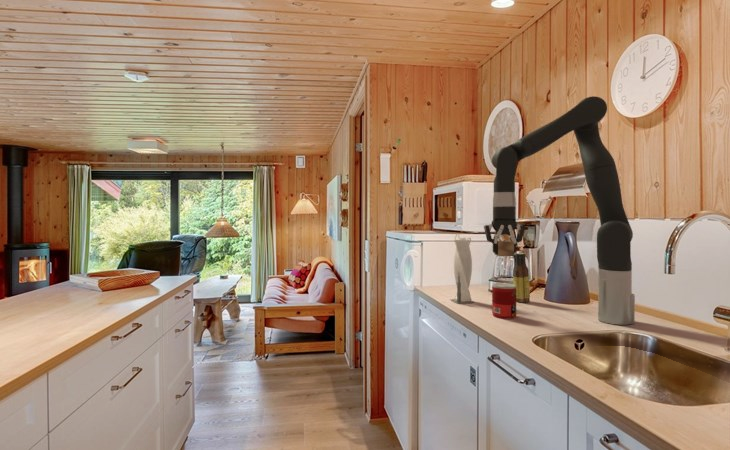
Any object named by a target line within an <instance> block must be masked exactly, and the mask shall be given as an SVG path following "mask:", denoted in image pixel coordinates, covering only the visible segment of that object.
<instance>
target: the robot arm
mask: <svg viewBox="0 0 730 450" xmlns="http://www.w3.org/2000/svg"><path fill="white" fill-rule="evenodd" d="M607 111H608V104H607V103H606V101H605V100H604V99H603V98H601V97H600V96H595V95H594V96H588V97H586V98H583V99H581V101H580V102H578V103H577V104H576V105H575V106H574V107H572V108H571V109H570V110H568V111H567V112H565V113H563V114H561V115H560V116H559V117H557V118H556V119H554V120H552V121H550V122H548V123H547V124H544V125H543V126H540V127H539V128H537V129H535V130H533V131H531V132H530V133H527V134H526V135H524V136H522V137H520V138H519V139H518V140H516V141H514V142H513V143H512V144H509V145H507V146H505V147H501V148H499V149H498V150H497V151H495V152H494V154H493V155H492V158H491V163H492V165H493V167H495V177H494V179H493V196H492V197H493V198H492V222H491V224H485V225H483V230H484V234H485V238H486V240H487V242H488V243H491V244H492V252H493V253H494V255H495V254H496V255H495V256H497V255H498V244H497V242H498V241H500V240H499V239H500V238H501V236H503V235H507V237H508V238H509V241H513V242H514V254H515V253H517V244H518V243H520V242H521V243H522V241H523V237H524V234H525V229H526V225H525V224H520V223H519V224H518V223H517V221H516V219H517V215H516V214H517V202H516V201H517V199H516V182H515V181H516V173H517V167H518V162H520V161H522V160H524V159H525V158H528V157H531V156H533V155H535V154H536V153H539V152H540V151H542V150H544V149H545V148H547V147H549V146H552V144H553V143H555V142H557V141H558V140H559V139H561V138H563V137H564V136H565V135H568V134H569V133H571V132H573V133H574V135H575V138H576V142H577V144H578V148H579V153H580V158H581V159H580V160H581V162H582V168H583V172H584V173H583V174H584V177H585V180H586V185H587V188H588V190H589V193H590V195H591V197H592V199H593V201H594V203H595V205H596V207H597V211H598V216H599V221H600V227H598V229H597V232H596V257H597V266H598V270H597V271H598V274H597V275H598V278H597V279H598V281H597V284H598V286H597V288H598V289H597V290H598V291H597V294H598V296H597V301H598V302H597V303H598V304H597V305H598V307H597V309H598V310H597V315H598V316H597V317H598V319H597V320H598V321H600V322H602V323H606V324H612V325H620V326H625V325H631V324H635V321H636V319H635V312H636V311H635V310H636V308H635V303H636V301H635V299H636V298H635V297H636V296H635V294H634V293H632V291H633V289H632V287H633V285H632V284H633V283H632V282H633V281H632V280H633V279H632V274H633V272H632V271H633V268H632V267H633V266H632V265H633V264H632V257H631V254H632V252H631V247H632V246H631V245H632V243H631V241H632V240H633V235H634V233H633V230H632V227H631V224H630V222H629V219H628V217H627V214H626V211H625V209H624V204H623V199H622V190H621V184H620V179H619V173H618V170H617V169H618V168H617V166H616V162H615V159H614V157H613V155H612V154H611V152H610V151H609V150H608V149H607V147H606V146H605V144H604V143H603V141H602V138H601V136H600V135H601V134H600V130H599V129H600V128H599V123H600V122H601V121H602V120H603V119H604V118H605V116H606V113H608V112H607ZM492 229H493V230H494V234H493V236H492V234H491V233H492V232H491V231H492ZM515 229H516V230H517V235H516V236H515V233H514V230H515Z"/></svg>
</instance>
